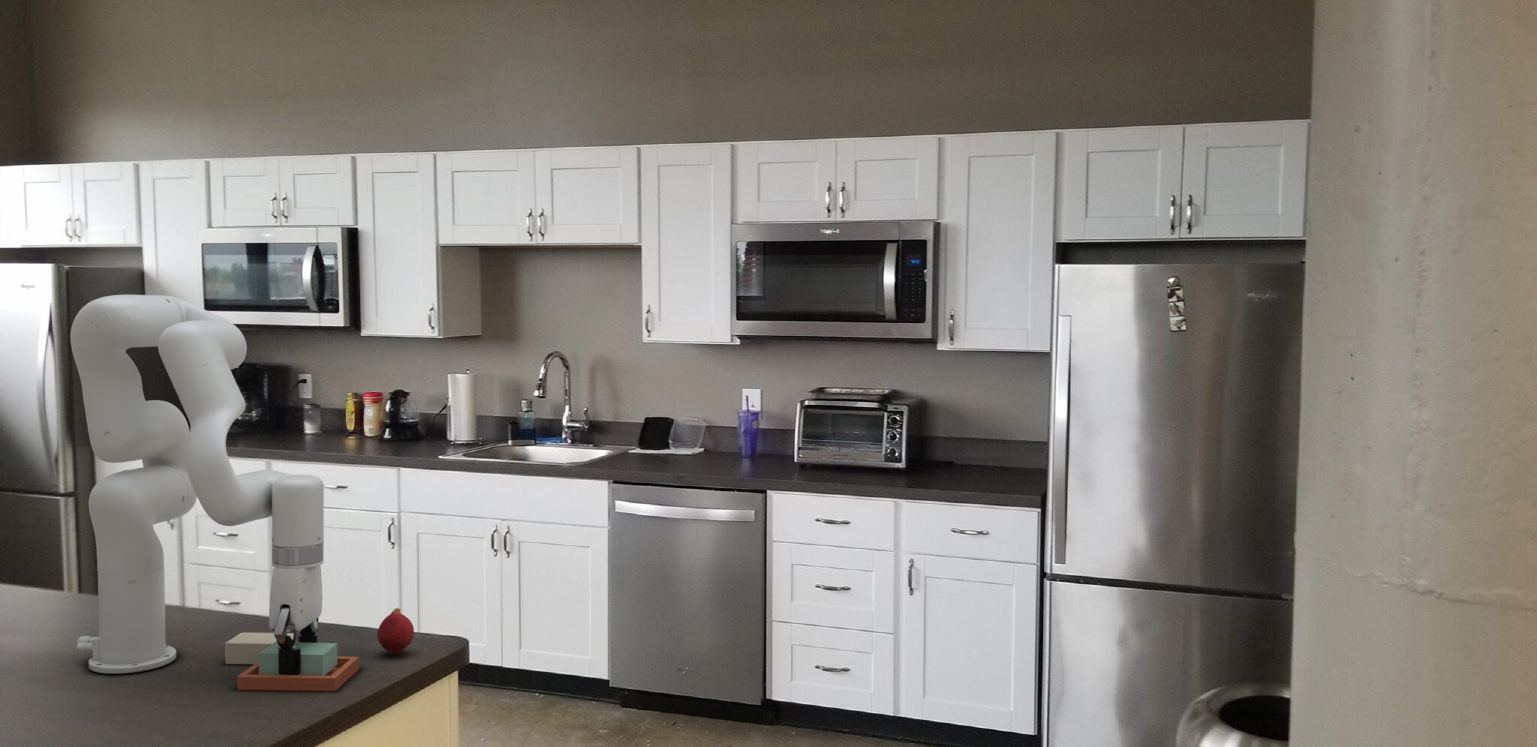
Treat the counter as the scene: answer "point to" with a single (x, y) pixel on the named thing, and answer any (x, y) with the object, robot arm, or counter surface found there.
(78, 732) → the counter surface
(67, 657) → the counter surface
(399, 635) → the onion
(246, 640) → the pad top
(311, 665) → the pad base
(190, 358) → the robot arm
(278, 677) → the holder
